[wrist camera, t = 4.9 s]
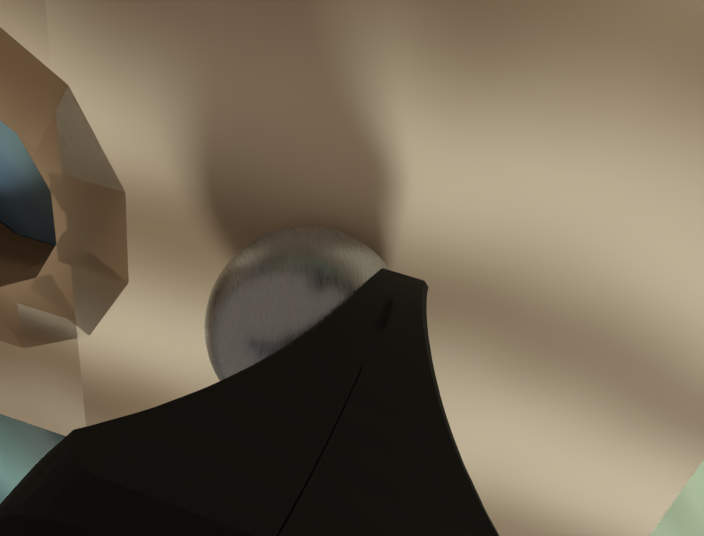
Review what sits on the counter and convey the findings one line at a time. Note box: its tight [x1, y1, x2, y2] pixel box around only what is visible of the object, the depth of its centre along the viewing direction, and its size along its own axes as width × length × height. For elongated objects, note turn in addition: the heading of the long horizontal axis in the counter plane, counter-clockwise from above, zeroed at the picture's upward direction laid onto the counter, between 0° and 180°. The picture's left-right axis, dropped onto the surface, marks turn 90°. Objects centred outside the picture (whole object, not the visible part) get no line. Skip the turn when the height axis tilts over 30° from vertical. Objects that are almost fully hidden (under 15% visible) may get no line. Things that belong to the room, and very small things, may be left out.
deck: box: [0, 0, 704, 536], centre depth 16 cm, size 16×26×2 cm, turn 80°
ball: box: [204, 225, 390, 381], centre depth 12 cm, size 4×4×4 cm
